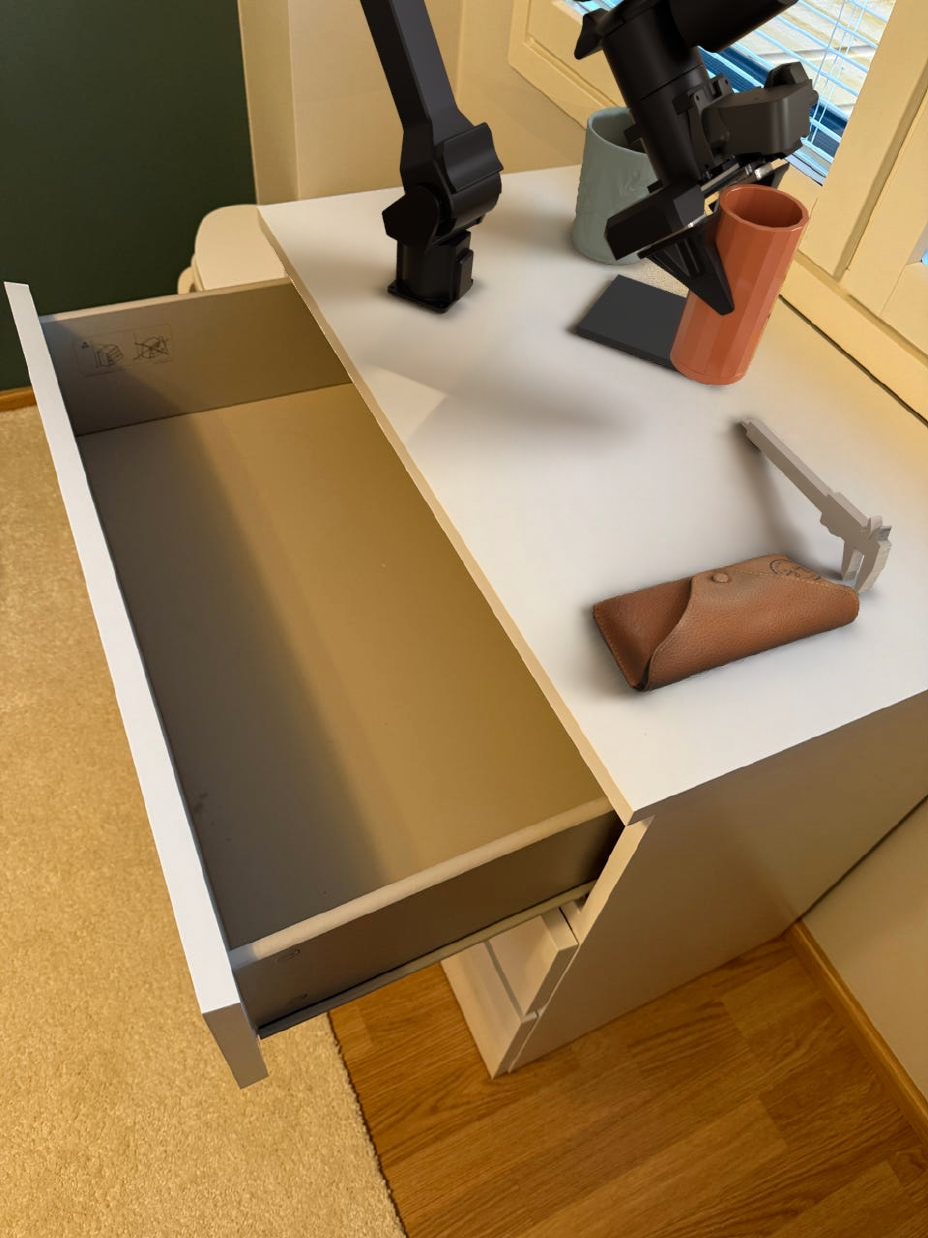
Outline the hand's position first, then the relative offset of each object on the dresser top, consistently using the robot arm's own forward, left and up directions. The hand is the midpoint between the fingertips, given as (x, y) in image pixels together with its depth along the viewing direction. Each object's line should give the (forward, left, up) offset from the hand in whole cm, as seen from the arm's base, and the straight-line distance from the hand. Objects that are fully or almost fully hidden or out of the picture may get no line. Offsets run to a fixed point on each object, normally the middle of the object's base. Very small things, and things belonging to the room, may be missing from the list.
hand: (750, 295), depth 70 cm
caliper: (+10, -3, -14) cm, 17 cm away
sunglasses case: (+8, -19, -14) cm, 25 cm away
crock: (-1, 0, -7) cm, 7 cm away
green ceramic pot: (-18, +26, -14) cm, 34 cm away
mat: (-8, +14, -14) cm, 21 cm away
